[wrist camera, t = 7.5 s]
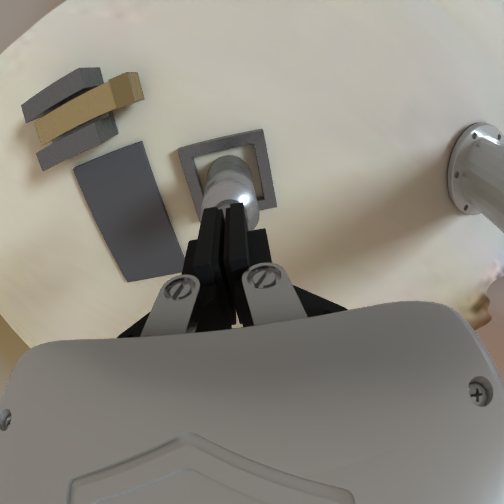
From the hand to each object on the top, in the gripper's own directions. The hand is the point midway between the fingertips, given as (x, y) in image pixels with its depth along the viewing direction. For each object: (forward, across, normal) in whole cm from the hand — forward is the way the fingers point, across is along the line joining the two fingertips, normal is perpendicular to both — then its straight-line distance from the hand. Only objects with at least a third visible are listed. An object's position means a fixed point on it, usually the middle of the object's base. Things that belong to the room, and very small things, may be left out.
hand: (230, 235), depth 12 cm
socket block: (+14, +14, -8) cm, 21 cm away
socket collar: (+15, +1, +2) cm, 15 cm away
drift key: (+13, +11, -8) cm, 19 cm away
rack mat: (+15, +12, +5) cm, 19 cm away
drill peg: (+15, +1, +2) cm, 15 cm away
